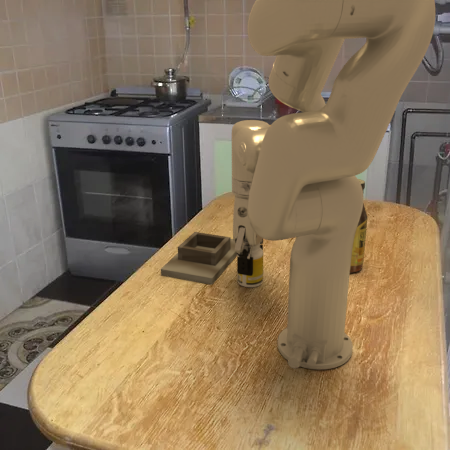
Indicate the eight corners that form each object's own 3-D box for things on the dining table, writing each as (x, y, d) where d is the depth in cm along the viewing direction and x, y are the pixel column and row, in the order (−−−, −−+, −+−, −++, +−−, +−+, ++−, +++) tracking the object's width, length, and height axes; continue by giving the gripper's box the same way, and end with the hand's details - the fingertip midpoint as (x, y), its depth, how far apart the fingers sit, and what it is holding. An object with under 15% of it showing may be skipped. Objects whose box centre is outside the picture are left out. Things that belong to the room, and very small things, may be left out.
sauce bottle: (363, 275, 118) (371, 187, 110) (333, 272, 119) (340, 185, 111) (362, 261, 124) (370, 177, 116) (334, 259, 125) (340, 175, 117)
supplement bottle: (267, 279, 116) (268, 237, 113) (254, 290, 112) (255, 247, 108) (245, 273, 119) (245, 232, 115) (232, 283, 115) (232, 241, 111)
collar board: (212, 284, 115) (211, 265, 113) (160, 275, 119) (159, 256, 117) (244, 246, 132) (244, 229, 130) (199, 239, 136) (198, 222, 134)
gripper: (254, 201, 99) (253, 290, 106) (281, 174, 113) (279, 253, 120) (216, 196, 101) (217, 283, 108) (247, 170, 116) (247, 248, 123)
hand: (250, 266), depth 114 cm, fingers closed on supplement bottle, 5 cm apart
